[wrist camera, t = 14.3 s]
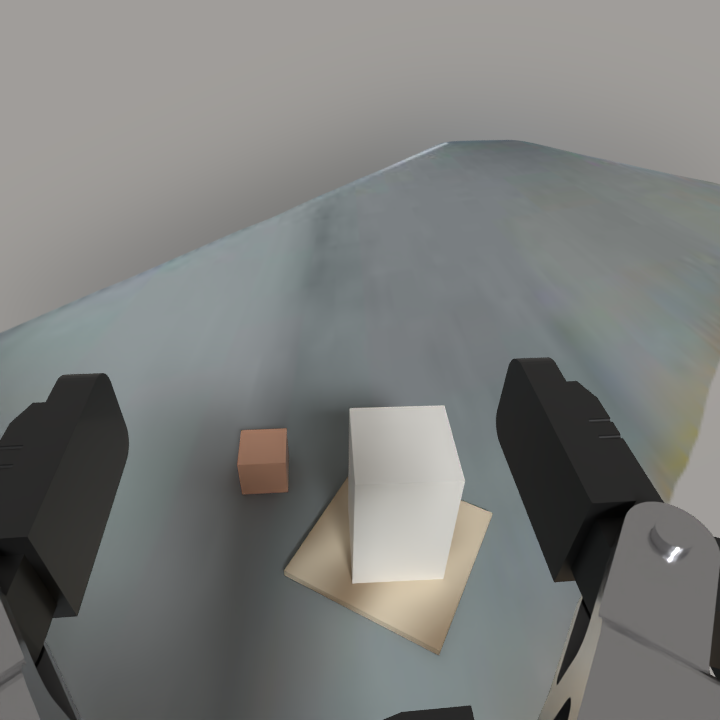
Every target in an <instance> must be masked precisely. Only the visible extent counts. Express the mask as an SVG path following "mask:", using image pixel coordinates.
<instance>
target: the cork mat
mask: <svg viewBox="0 0 720 720" xmlns="http://www.w3.org/2000/svg"><path fill="white" fill-rule="evenodd" d="M491 517H492V513H491V512H488V511H486V510H483V509H481V508H478V507H476V506H474V505H471V504H469V503H466V502H464V501H460V505H459V510H458V514H457V519H456V523H455V528H454V532H453V537H452V542H451V546H450V551H449V555H448V560H447V564H446V569H445V573H444V578H443V579H433V580H413V581H392V582H372V583H352V568H351V550H350V533H349V515H348V477H347V479H346V480H345V482H344V483H343V485H342V486H341V488H340V489H339V490H338V492H337V493H336V495H335V496H334V498H333V499H332V501H331V502H330V504H329V505H328V507H327V508H326V510H325V511H324V513H323V514H322V515H321V517H320V518H319V520H318V521H317V523H316V524H315V526H314V527H313V529H312V530H311V532H310V533H309V535H308V536H307V538H306V539H305V541H304V542H303V543H302V545H301V546H300V548H299V549H298V551H297V552H296V554H295V555H294V557H293V558H292V560H291V561H290V563H289V564H288V566H287V567H286V568H285V570H284V575H285V576H287V577H288V578H290V579H292V580H294V581H296V582H298V583H300V584H302V585H304V586H306V587H308V588H310V589H312V590H314V591H315V592H317V593H319V594H321V595H323V596H325V597H327V598H329V599H331V600H333V601H335V602H337V603H339V604H341V605H343V606H344V607H346V608H348V609H350V610H352V611H354V612H356V613H358V614H360V615H362V616H364V617H366V618H368V619H370V620H371V621H373V622H375V623H377V624H379V625H381V626H383V627H385V628H387V629H389V630H391V631H393V632H395V633H397V634H398V635H400V636H402V637H404V638H406V639H408V640H410V641H412V642H414V643H416V644H418V645H420V646H422V647H424V648H425V649H427V650H429V651H431V652H433V653H435V654H437V655H439V654H440V651H441V649H442V646H443V643H444V641H445V638H446V635H447V633H448V630H449V628H450V625H451V622H452V620H453V617H454V614H455V612H456V609H457V607H458V604H459V601H460V599H461V596H462V593H463V591H464V588H465V586H466V583H467V580H468V578H469V575H470V572H471V570H472V567H473V565H474V562H475V559H476V557H477V554H478V551H479V549H480V546H481V543H482V541H483V538H484V536H485V533H486V530H487V528H488V525H489V522H490V520H491Z"/></svg>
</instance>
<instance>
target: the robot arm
mask: <svg viewBox="0 0 720 720" xmlns="http://www.w3.org/2000/svg"><path fill="white" fill-rule="evenodd" d="M496 429H497V435H498V439H499V442H500V445H501V448H502V450H503V453H504V455H505V458H506V460H507V463H508V465H509V468H510V471H511V473H512V476H513V478H514V481H515V483H516V486H517V488H518V491H519V494H520V496H521V499H522V501H523V504H524V506H525V509H526V511H527V514H528V517H529V519H530V522H531V524H532V527H533V529H534V532H535V534H536V537H537V540H538V542H539V545H540V547H541V550H542V552H543V555H544V557H545V560H546V563H547V565H548V568H549V570H550V573H551V575H552V578H553V580H554V582H564V581H576V583H577V585H578V588H579V590H580V592H581V597H580V598H579V601H578V603H577V606H576V609H575V612H574V615H573V619H572V622H571V625H570V628H569V631H568V634H567V638H566V641H565V644H564V647H563V650H562V653H561V656H560V660H559V663H558V666H557V669H556V672H555V675H554V679H553V682H552V685H551V688H550V691H549V694H548V696H547V699H546V701H545V704H544V706H543V708H542V710H541V713H540V715H539V717H538V720H720V538H717V537H713V535H712V534H711V533H710V531H709V530H708V529H707V528H706V527H705V526H704V525H703V524H702V523H701V522H700V521H699V520H698V519H696V518H695V517H694V516H692V515H691V514H689V513H687V512H686V511H684V510H682V509H680V508H678V507H675V506H672V505H670V504H666V503H664V502H663V500H662V499H661V497H660V496H659V494H658V493H657V491H656V489H655V488H654V486H653V485H652V483H651V482H650V480H649V478H648V477H647V475H646V474H645V472H644V471H643V469H642V467H641V466H640V464H639V463H638V461H637V460H636V458H635V456H634V455H633V453H632V452H631V450H630V448H629V447H628V445H627V444H626V442H625V441H624V439H623V438H620V433H619V431H618V430H617V428H616V426H615V425H614V423H613V422H610V417H609V415H608V414H607V412H606V411H605V409H604V408H603V406H602V404H601V403H600V401H599V400H598V398H597V397H596V396H594V395H593V394H592V393H591V392H589V391H588V390H587V389H586V388H585V387H583V386H582V385H581V384H580V383H578V382H577V381H568V382H566V380H565V378H564V377H563V375H562V373H561V372H560V370H559V368H558V367H557V365H556V363H555V362H554V360H553V359H551V358H548V357H547V358H521V359H513V360H512V361H511V362H510V364H509V367H508V370H507V374H506V378H505V382H504V386H503V390H502V394H501V398H500V402H499V406H498V409H497V415H496ZM128 449H129V438H128V431H127V427H126V424H125V421H124V418H123V416H122V413H121V410H120V407H119V404H118V401H117V398H116V395H115V393H114V390H113V387H112V384H111V381H110V379H109V377H108V376H107V375H106V374H104V373H97V374H71V375H62V376H60V377H59V378H58V380H57V382H56V384H55V385H54V387H53V389H52V391H51V393H50V395H49V397H48V399H47V401H46V402H42V403H32V404H31V405H30V406H29V407H28V408H27V409H26V410H24V411H23V412H22V413H21V414H20V415H19V416H18V417H16V418H15V419H14V420H13V421H12V422H11V423H10V424H9V426H8V428H7V429H6V431H5V433H4V435H3V436H2V438H1V440H0V720H82V719H81V717H80V715H79V713H78V710H77V708H76V706H75V704H74V702H73V699H72V697H71V695H70V693H69V691H68V688H67V686H66V684H65V682H64V680H63V677H62V675H61V673H60V671H59V668H58V666H57V664H56V662H55V660H54V657H53V655H52V653H51V651H50V649H49V646H48V644H47V643H46V641H45V638H46V635H47V632H48V629H49V627H50V624H51V621H52V618H60V617H73V616H77V615H78V612H79V609H80V606H81V603H82V600H83V596H84V593H85V590H86V587H87V584H88V581H89V577H90V574H91V571H92V568H93V565H94V562H95V558H96V555H97V552H98V549H99V546H100V543H101V539H102V536H103V533H104V530H105V527H106V524H107V521H108V517H109V514H110V511H111V508H112V505H113V502H114V498H115V495H116V492H117V489H118V486H119V483H120V479H121V476H122V473H123V470H124V467H125V464H126V460H127V456H128ZM709 666H710V667H711V669H712V670H713V673H714V675H715V677H714V676H712V675H710V671H709ZM384 720H474V717H473V712H472V708H471V706H461V707H450V708H440V709H429V710H418V711H408V712H401V713H398V714H396V715H394V716H391V717H389V718H386V719H384Z"/></svg>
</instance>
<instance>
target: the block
mask: <svg viewBox="0 0 720 720" xmlns="http://www.w3.org/2000/svg"><path fill="white" fill-rule="evenodd" d="M237 467H238V473H239V479H240V485H241V490H242V495H244V494H262V493H281V492H288V481H289V451H288V439H287V428H283V429H259V430H241V437H240V445H239V453H238V462H237Z"/></svg>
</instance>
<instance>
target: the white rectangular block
mask: <svg viewBox="0 0 720 720" xmlns="http://www.w3.org/2000/svg"><path fill="white" fill-rule="evenodd" d="M464 483H465V479H464V476H463V472H462V468H461V465H460V461H459V457H458V454H457V450H456V446H455V443H454V439H453V435H452V432H451V428H450V425H449V421H448V417H447V414H446V410H445V406H410V407H374V408H349V475H348V515H349V533H350V550H351V568H352V583H372V582H392V581H413V580H433V579H443V578H444V573H445V569H446V564H447V560H448V555H449V551H450V546H451V542H452V537H453V532H454V528H455V523H456V519H457V514H458V510H459V505H460V501H461V496H462V492H463V487H464Z"/></svg>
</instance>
